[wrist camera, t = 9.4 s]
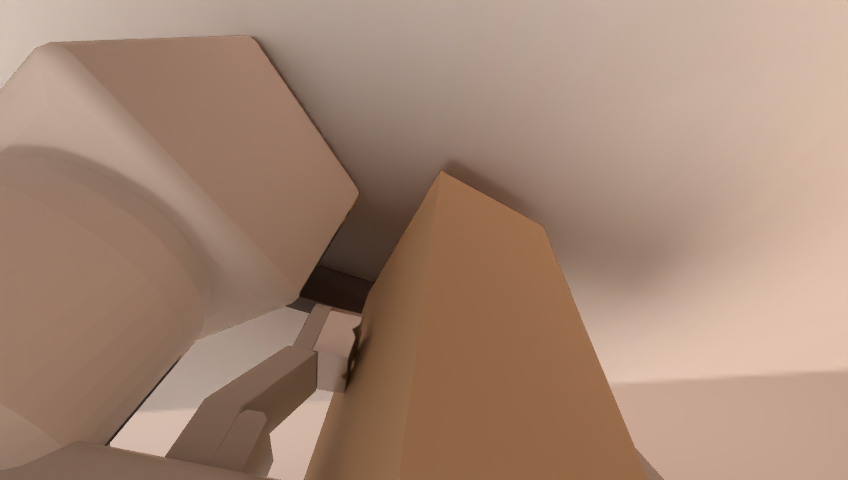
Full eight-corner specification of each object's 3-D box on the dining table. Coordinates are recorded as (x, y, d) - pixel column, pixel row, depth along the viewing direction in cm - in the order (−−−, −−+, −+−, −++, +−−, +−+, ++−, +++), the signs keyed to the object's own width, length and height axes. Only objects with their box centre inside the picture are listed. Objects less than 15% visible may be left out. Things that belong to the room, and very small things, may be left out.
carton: (546, 228, 12) (798, 811, 3) (453, 329, 16) (445, 731, 7) (441, 170, 11) (361, 749, 2) (368, 292, 15) (227, 697, 6)
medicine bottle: (256, 246, 17) (-28, 552, 7) (139, 124, 14) (-689, 374, 4) (364, 193, 15) (162, 544, 5) (252, 30, 11) (-1149, 51, 1)
